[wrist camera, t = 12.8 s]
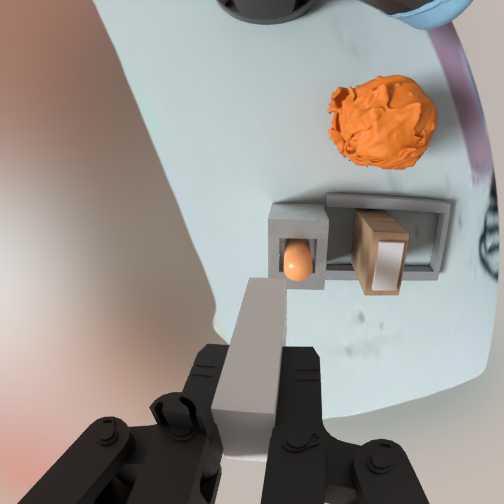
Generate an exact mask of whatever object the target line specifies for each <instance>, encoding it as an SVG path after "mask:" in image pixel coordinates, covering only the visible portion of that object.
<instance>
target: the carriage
mask: <svg viewBox="0 0 504 504" xmlns="http://www.w3.org/2000/svg"><path fill="white" fill-rule="evenodd" d="M409 234H410V233H409V232H408V231H407V230H406V229H404V228H403V227H402V226H401V225H400V224H399V223H398V222H397V221H396V220H395V219H394V218H393V217H392V216H390V215H389V214H388V213H387V212H386V211H378V210H357V209H356V213H355V226H354V237H353V248H352V257H351V263H352V265H353V268H354V270H355V272H356V275H357V277H358V280H359V282H360V285H361V287H362V290H363V292H364V295H399V290H400V286H401V281H402V276H403V270H404V265H405V259H406V253H407V247H408V241H409Z"/></svg>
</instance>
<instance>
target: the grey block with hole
mask: <svg viewBox="0 0 504 504" xmlns="http://www.w3.org/2000/svg"><path fill="white" fill-rule="evenodd" d="M328 232H329V219H328V216H327V214H326V212H325V209H324V207H323V205H322V204H285V203H272V206H271V210H270V214H269V218H268V276H269V278H287V289H311V290H324V284H325V273H326V261H327V247H328ZM290 238H296V239H306V240H307V241H308V242H309V245H310V251H311V258H312V265H313V271H312V273H311V275H310V276H309V277H308V278H307V279H305V280H303V281H293V280H291V279H289V278H288V277H287V276H286V275H285V273H284V253H285V244H286V242H287V241H288V240H289V239H290Z"/></svg>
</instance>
